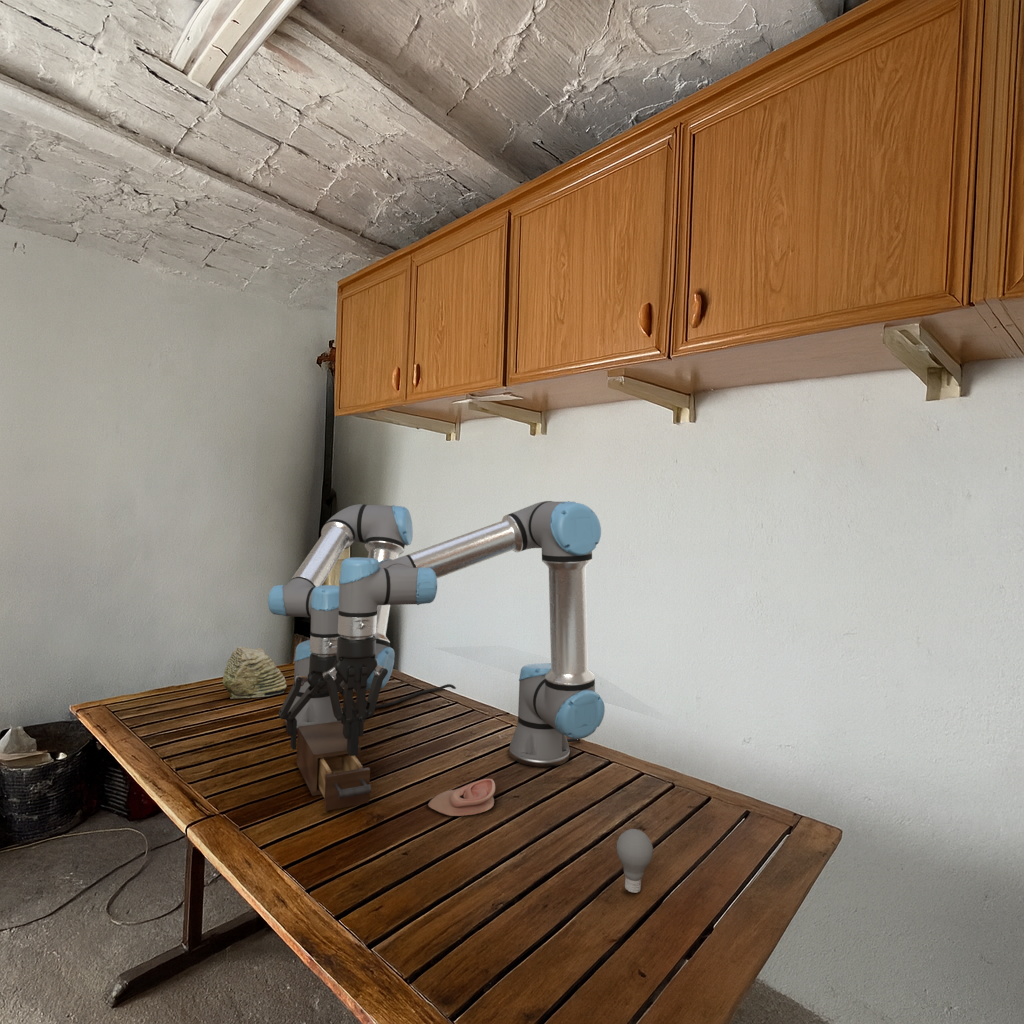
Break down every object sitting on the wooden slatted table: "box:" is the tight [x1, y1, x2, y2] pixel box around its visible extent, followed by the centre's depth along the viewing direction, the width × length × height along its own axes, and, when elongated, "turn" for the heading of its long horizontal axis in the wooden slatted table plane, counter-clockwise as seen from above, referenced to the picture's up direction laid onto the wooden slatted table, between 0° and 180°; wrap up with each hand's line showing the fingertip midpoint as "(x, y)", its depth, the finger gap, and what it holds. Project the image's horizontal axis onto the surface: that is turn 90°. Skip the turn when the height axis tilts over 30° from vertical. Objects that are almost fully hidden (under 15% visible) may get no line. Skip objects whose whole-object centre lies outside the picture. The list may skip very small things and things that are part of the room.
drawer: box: [317, 754, 372, 812], centre depth 133 cm, size 22×9×7 cm, turn 29°
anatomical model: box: [427, 778, 496, 817], centre depth 133 cm, size 13×4×12 cm
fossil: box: [222, 646, 288, 699], centre depth 198 cm, size 9×18×15 cm, turn 132°
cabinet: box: [295, 721, 362, 797], centre depth 144 cm, size 18×10×9 cm, turn 29°
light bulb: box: [615, 828, 654, 894], centre depth 106 cm, size 6×6×10 cm
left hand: (323, 742), depth 148 cm, fingers open, 13 cm apart
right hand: (352, 752), depth 127 cm, fingers closed
